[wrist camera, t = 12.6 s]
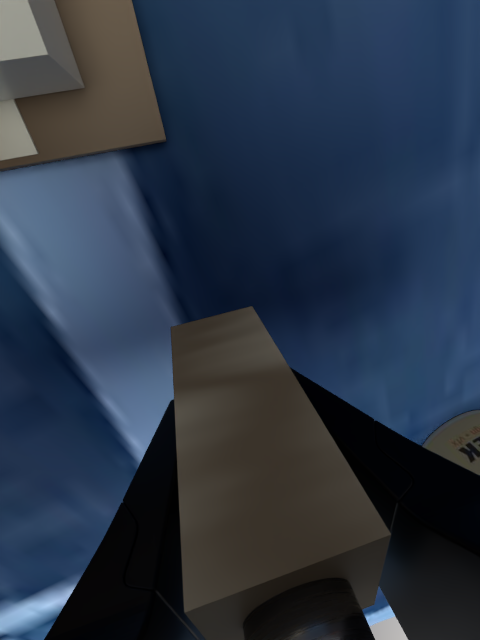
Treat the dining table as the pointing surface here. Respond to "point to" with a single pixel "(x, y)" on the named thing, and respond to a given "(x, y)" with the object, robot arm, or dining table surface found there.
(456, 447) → the coffee cup
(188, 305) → the dining table surface
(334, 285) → the dining table surface
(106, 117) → the board
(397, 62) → the dining table surface
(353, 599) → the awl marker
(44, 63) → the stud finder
